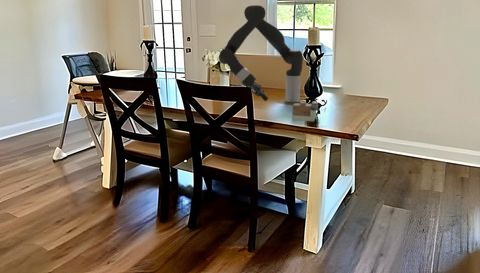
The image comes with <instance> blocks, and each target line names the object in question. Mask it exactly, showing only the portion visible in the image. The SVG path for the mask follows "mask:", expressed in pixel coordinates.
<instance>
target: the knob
mask: <svg viewBox="0 0 480 273" xmlns="http://www.w3.org/2000/svg"><path fill="white" fill-rule="evenodd" d="M310 104H311V110H315V111H316V112H317V111H318V110H319V103H318V101H312V102H311V103H310Z"/></svg>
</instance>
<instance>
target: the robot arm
mask: <svg viewBox="0 0 480 273" xmlns="http://www.w3.org/2000/svg"><path fill="white" fill-rule="evenodd" d="M243 15H244V18H245V19H246V20H247V21H246V22H245V23H244V24H243V25H242V26H241V27H239V28H238V29H237V30H236V31H235V32H234V33H233V34H232V35H231V37H230V38H229V40H228V42H227V43H226V46H225V47H224V48H223V49H221V51H220V52H219V56H218V60H219V62H220V63H221V64H223V65H227V66H228V67H229V70H230V72H231V73H232V74H233V75H234V76H235V77H236V78H237V80H239V82H240V83H241V84H242V85H243V86H244V87H245V86H246V87H248V88H250V87H251V88H250V90H251V89H252V90H251V93H252V94H253V95H255V96H257V97H260V98H262V100H263V101H264V102H266V101H268V100H269V97H268V96H267V95H266V94H265V90H264V88H263V87H262V86H261V84H259V83H257V81H256V80H257V78H256V77H255V75H253V74H252V72H250V71H249V70H248V69H247V67H245V66H244V65H243V64H242V63H241V61H240V60H239V59H238V57H237V56H236V53H237V51H238V50H239V49H240V47H241V46H242V44H243V43H244V42H245V40H246V39H247V38H248V37H249V36H250V34H251V33H252V32H253V31H254V30H255V29H256V30H258V32H259V33H260V34H261V35H262V36H263V37H264V38H265V39H266V41H267V42H268V43H269V44H270V45H271V46H272V47H273V48H274V49H275V50H276V51H277V52H278V53H279V55H280V57H281V58H282V59H283V61H284V62H285V63H286V64H288V65H290V66H291V67H290V69H286V74H285V102H287V103H293V104H294V103H300V102H301V101H300V100H301V99H300V94H301V74H302V70H303V64H304V63H303V60H304V57H303V52H302V51H301V50H296V49H292V48H290V47H289V46H288V45H287V44H286V40H285V36H284V34H283V33H282V32H281V31H280V30H279V29H278V27H276V26H275V25H274V24H272V23H271V22H268V21H267V20H266V19H265V17H266V8H265V7H263V6H262V5H259V4H257V5H255V4H254V5H248V6H246V7H245V8H244V13H243ZM246 87H245V88H246Z"/></svg>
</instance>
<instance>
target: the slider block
mask: <svg viewBox="0 0 480 273" xmlns="http://www.w3.org/2000/svg"><path fill="white" fill-rule="evenodd" d="M311 104H312V103H307V102H305V101H299V102H294V103H293V104H292V120H293V115H298V116H310V113H311Z"/></svg>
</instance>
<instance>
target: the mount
mask: <svg viewBox="0 0 480 273" xmlns="http://www.w3.org/2000/svg"><path fill="white" fill-rule="evenodd" d="M292 115H293V114H292ZM316 118H317V110H316V111H315V110H311V113H310V116H298V115H293V119H292V120H293V121H299V122H300V121H302V122H315V120H316Z"/></svg>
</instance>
